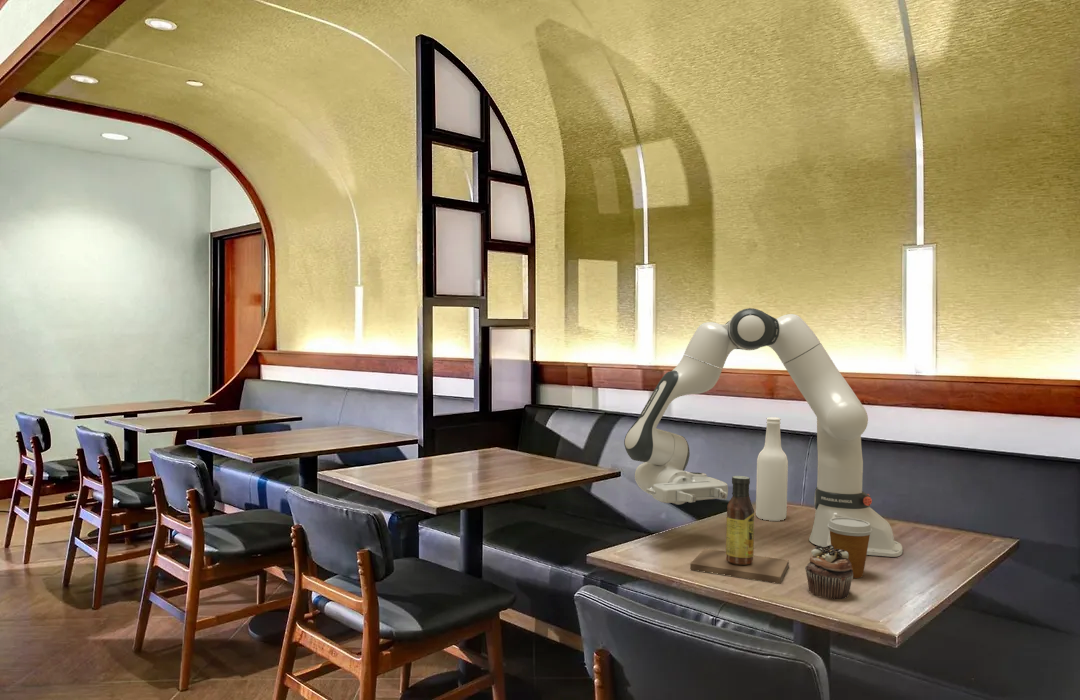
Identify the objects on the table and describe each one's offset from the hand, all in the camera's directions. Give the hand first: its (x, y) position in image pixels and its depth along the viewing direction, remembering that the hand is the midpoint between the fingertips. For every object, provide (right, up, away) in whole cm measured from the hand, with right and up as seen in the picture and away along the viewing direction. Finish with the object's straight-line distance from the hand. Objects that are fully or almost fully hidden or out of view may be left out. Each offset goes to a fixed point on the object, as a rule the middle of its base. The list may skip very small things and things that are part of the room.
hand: (709, 497), depth 188 cm
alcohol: (+27, -14, +39) cm, 49 cm away
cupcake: (+19, -15, -26) cm, 36 cm away
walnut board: (+5, -14, -11) cm, 19 cm away
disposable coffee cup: (+29, -15, -13) cm, 35 cm away
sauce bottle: (+5, -13, -11) cm, 18 cm away
